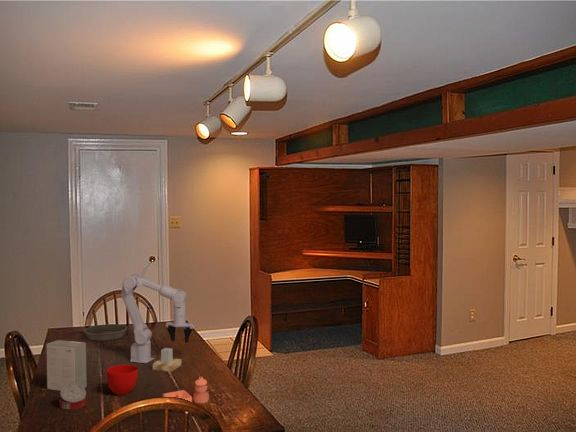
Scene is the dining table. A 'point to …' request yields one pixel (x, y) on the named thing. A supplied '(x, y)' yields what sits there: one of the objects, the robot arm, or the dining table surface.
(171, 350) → the gray block
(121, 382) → the ceramic cup
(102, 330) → the cake pan
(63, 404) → the canned food
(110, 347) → the dining table surface
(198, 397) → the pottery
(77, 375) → the hard drive box
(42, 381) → the dining table surface
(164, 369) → the maple pedestal
